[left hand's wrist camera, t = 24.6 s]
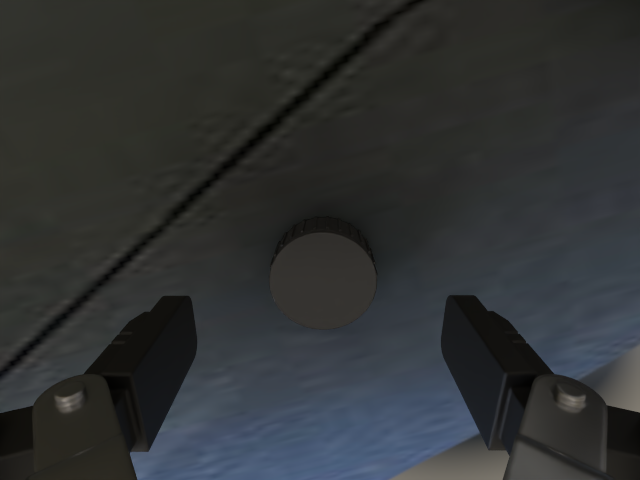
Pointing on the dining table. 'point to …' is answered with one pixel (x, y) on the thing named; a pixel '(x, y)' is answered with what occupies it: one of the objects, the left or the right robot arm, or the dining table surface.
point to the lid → (323, 274)
